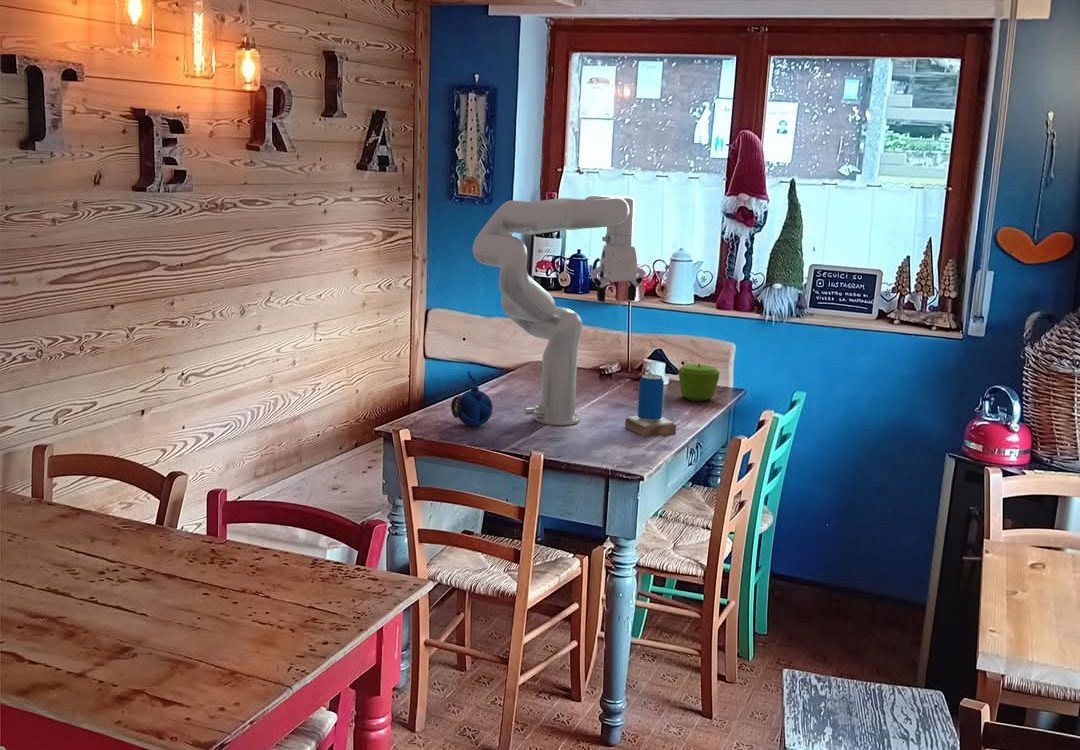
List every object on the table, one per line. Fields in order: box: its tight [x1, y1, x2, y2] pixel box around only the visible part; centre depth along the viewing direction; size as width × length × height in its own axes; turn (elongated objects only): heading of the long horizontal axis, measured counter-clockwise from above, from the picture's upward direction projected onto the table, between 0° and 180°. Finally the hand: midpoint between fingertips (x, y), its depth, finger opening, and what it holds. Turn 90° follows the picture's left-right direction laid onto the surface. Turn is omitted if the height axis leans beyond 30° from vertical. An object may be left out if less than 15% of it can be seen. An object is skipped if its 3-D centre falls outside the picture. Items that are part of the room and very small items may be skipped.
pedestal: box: [624, 415, 677, 437], centre depth 297 cm, size 10×10×3 cm
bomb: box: [450, 371, 494, 427], centre depth 293 cm, size 10×11×15 cm
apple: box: [678, 363, 720, 402], centre depth 337 cm, size 12×12×11 cm
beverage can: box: [637, 373, 665, 422], centre depth 295 cm, size 6×6×12 cm
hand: (616, 300), depth 311 cm, fingers open, 9 cm apart
